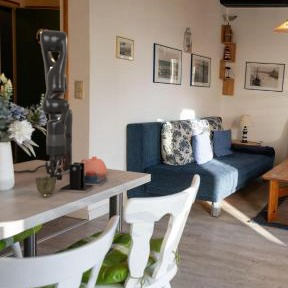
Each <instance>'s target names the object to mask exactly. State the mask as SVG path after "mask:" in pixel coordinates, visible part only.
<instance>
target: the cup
mask: <svg viewBox="0 0 288 288" xmlns="http://www.w3.org/2000/svg"><path fill="white" fill-rule="evenodd" d="M35 184H36V185H35V186H36V189H37V192H38V193H39V194H40V195H41V196H42V197H48V196H51V195H52V193H53V192H54V191H55V190H56V184H57V177H53V178H51V177H50V175H49V176H48V175H45V176H42V177H41V176H39V177H38V176H37V177H36V178H35Z"/></svg>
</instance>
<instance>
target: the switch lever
mask: <svg viewBox="0 0 288 288" xmlns="http://www.w3.org/2000/svg"><path fill="white" fill-rule="evenodd" d="M78 165H80V164H78ZM81 169H82V167H81ZM68 173H70V169H69V170H66V171H64V172H61V173H57V174H56V178H57V177H58V176H60V175H62V176H63V175H66V174H68Z"/></svg>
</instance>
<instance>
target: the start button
mask: <svg viewBox="0 0 288 288" xmlns="http://www.w3.org/2000/svg"><path fill="white" fill-rule="evenodd" d="M86 175H87V176H93V175H95V171H87V172H86Z"/></svg>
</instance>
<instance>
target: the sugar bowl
mask: <svg viewBox="0 0 288 288" xmlns="http://www.w3.org/2000/svg"><path fill="white" fill-rule="evenodd" d="M80 163H84V174H85V173H86V172H87V171H95V173H97V174H99V176H105V175H106V174H107V173H108V169H107V165H106V163H105V162H104V160H103V159H102V158H98V156H91V158H83V159H82V160H81V161H80Z"/></svg>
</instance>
